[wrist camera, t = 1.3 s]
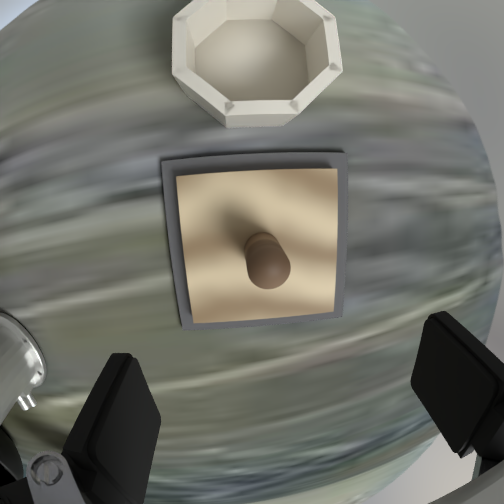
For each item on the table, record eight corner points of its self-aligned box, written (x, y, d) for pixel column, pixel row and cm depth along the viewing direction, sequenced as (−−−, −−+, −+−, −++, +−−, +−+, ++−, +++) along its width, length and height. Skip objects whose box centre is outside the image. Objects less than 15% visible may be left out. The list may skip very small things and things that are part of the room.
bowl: (319, 126, 25) (346, 116, 19) (187, 131, 25) (173, 120, 18) (308, 18, 22) (329, -16, 15) (185, 20, 21) (174, -16, 14)
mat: (340, 314, 31) (342, 316, 30) (183, 327, 30) (182, 330, 30) (344, 153, 26) (347, 152, 25) (162, 161, 25) (161, 161, 25)
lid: (330, 306, 30) (350, 337, 24) (194, 317, 29) (187, 352, 23) (332, 168, 26) (360, 170, 20) (178, 175, 25) (163, 179, 19)
